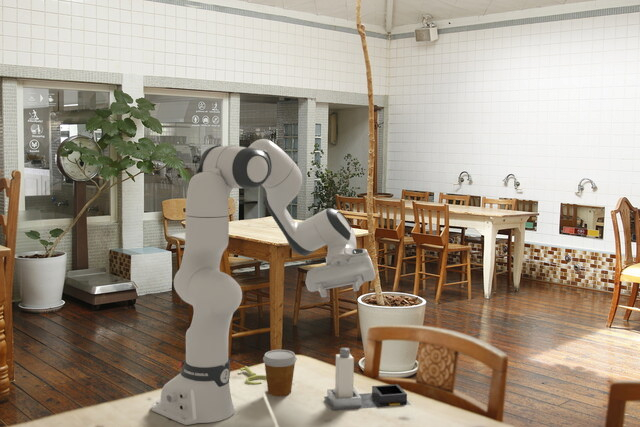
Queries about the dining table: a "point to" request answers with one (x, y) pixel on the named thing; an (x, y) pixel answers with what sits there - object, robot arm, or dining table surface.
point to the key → (253, 376)
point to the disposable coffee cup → (279, 371)
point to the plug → (344, 374)
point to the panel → (369, 398)
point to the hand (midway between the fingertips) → (339, 292)
